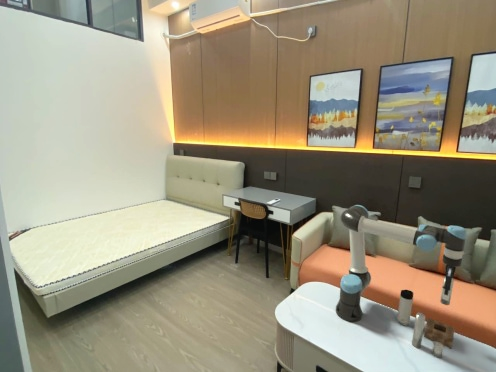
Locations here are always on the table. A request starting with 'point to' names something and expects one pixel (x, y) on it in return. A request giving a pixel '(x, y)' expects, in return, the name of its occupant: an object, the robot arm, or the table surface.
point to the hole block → (439, 332)
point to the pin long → (418, 330)
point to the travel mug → (405, 307)
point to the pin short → (438, 349)
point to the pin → (449, 295)
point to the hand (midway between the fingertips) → (445, 297)
